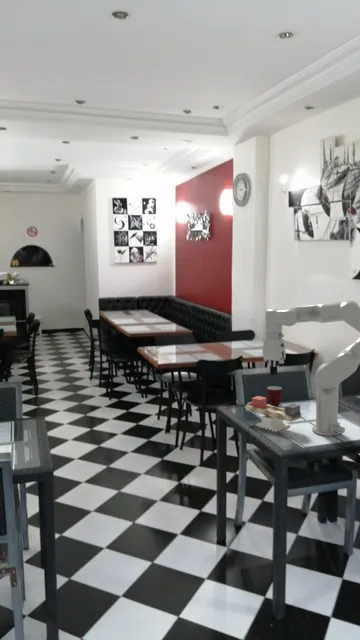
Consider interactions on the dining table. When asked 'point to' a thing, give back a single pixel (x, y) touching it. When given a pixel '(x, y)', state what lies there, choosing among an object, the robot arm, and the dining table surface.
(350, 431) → the dining table surface
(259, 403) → the block
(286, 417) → the beam
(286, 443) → the dining table surface
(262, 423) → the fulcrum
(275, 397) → the mug
